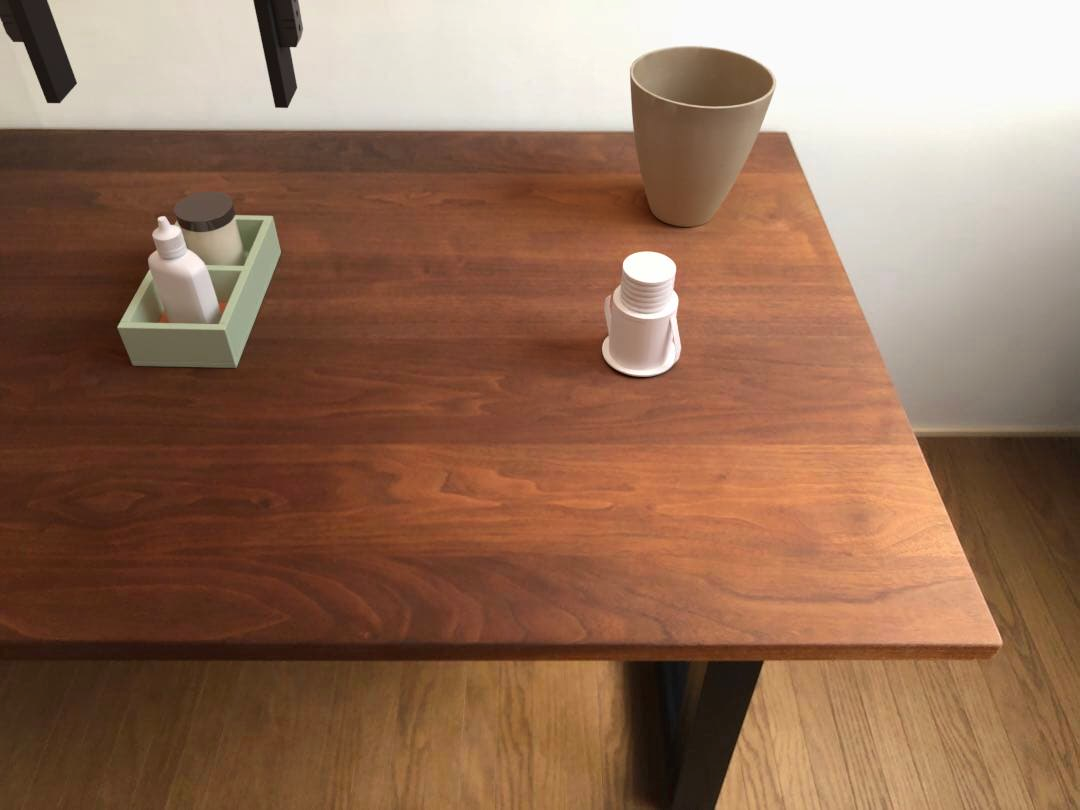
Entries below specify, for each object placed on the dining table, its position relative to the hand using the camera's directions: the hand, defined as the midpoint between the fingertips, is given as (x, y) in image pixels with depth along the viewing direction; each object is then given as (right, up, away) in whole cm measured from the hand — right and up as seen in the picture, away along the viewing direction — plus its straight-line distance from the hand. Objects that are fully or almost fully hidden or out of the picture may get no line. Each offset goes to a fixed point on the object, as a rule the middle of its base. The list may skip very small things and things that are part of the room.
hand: (174, 96), depth 54 cm
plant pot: (+39, +4, +48) cm, 62 cm away
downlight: (+32, -14, +30) cm, 46 cm away
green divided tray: (-10, -9, +34) cm, 37 cm away
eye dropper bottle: (-10, -11, +31) cm, 35 cm away
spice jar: (-10, -5, +37) cm, 39 cm away
